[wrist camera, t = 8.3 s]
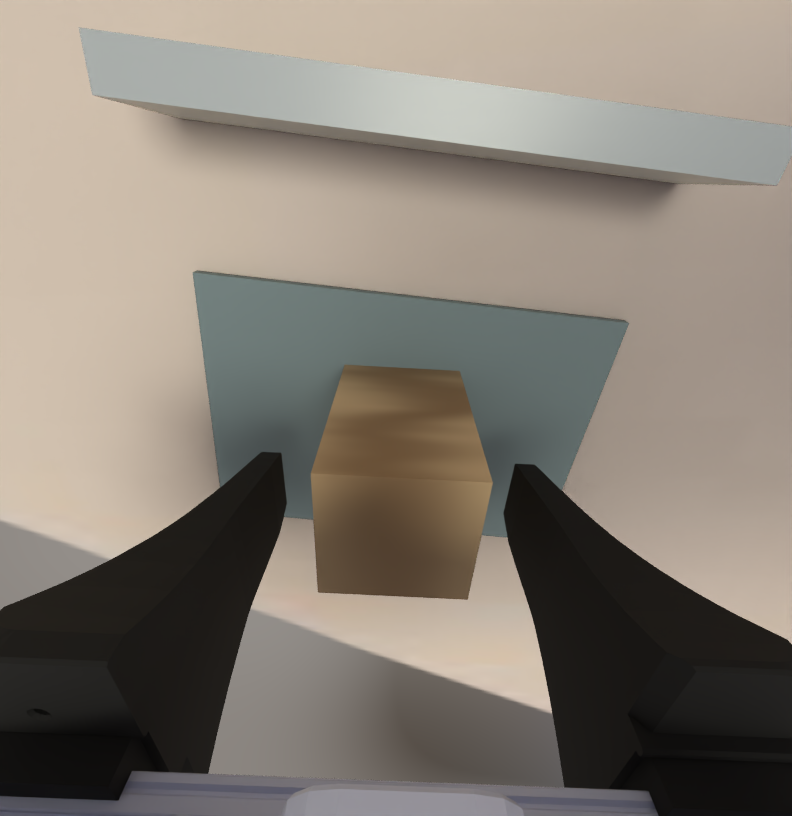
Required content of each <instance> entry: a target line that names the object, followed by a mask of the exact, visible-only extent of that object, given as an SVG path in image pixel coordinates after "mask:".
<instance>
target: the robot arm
mask: <svg viewBox="0 0 792 816" xmlns="http://www.w3.org/2000/svg"><path fill="white" fill-rule="evenodd" d="M286 505H287V499H286V490H285V481H284V472H283V463H282V454H281V453H278V452H261V453H260V454H258V455H257V456H256V457H255V458H254V459H253V460H251V461H250V462H249V463H248V464H247V465H246V466H245V467H243V468H242V469H241V470H240V471H239V472H238V473H237V474H235V475H234V476H233V477H232V478H231V479H230V480H229V481H227V482H226V483H225V484H224V485H223V486H221V487H220V488H219V489H218V490H217V491H216V492H214V493H213V494H212V495H211V496H209V497H208V498H207V499H205V500H204V501H203V502H201V503H200V504H199V505H198V506H196V507H195V508H194V509H192V510H191V511H190V512H188V513H187V514H186V515H184V516H183V517H181V518H180V519H178V520H177V521H176V522H174V523H173V524H171V525H169V526H168V527H166V528H165V529H163V530H162V531H160V532H159V533H157V534H155V535H154V536H152V537H151V538H149V539H147V540H145V541H144V542H142V543H140V544H138V545H136V546H135V547H133V548H131V549H129V550H128V551H126V552H124V553H122V554H121V555H119V556H117V557H115V558H113V559H111V560H109V561H107V562H105V563H103V564H101V565H99V566H97V567H95V568H94V569H92V570H89V571H87V572H85V573H83V574H81V575H79V576H76V577H74V578H72V579H70V580H68V581H66V582H63V583H61V584H59V585H57V586H54V587H52V588H49V589H47V590H44V591H42V592H40V593H37V594H35V595H32V596H30V597H27V598H25V599H23V600H20V601H18V602H15V603H13V604H10V605H8V606H5V607H3V608H2V609H1V610H0V816H792V644H791V643H790V642H789V641H788V640H787V639H785V638H783V637H781V636H779V635H777V634H775V633H772V632H770V631H768V630H766V629H764V628H762V627H760V626H758V625H756V624H754V623H752V622H750V621H748V620H746V619H744V618H742V617H740V616H738V615H736V614H734V613H732V612H730V611H728V610H726V609H725V608H723V607H721V606H719V605H717V604H715V603H714V602H712V601H710V600H708V599H706V598H705V597H703V596H701V595H699V594H698V593H696V592H694V591H692V590H691V589H689V588H687V587H686V586H684V585H682V584H681V583H679V582H678V581H676V580H674V579H673V578H671V577H670V576H668V575H667V574H665V573H663V572H662V571H660V570H659V569H657V568H656V567H654V566H653V565H651V564H650V563H648V562H647V561H645V560H644V559H642V558H641V557H640V556H638V555H637V554H636V553H634V552H633V551H632V550H630V549H629V548H627V547H626V546H625V545H623V544H622V543H621V542H619V541H618V540H617V539H616V538H614V537H613V536H612V535H611V534H609V533H608V532H607V531H606V530H605V529H603V528H602V527H601V526H600V525H599V524H597V523H596V522H595V521H594V520H593V519H592V518H591V517H589V516H588V515H587V514H586V513H585V512H584V511H583V510H582V509H580V508H579V507H578V506H577V505H576V504H575V503H574V502H573V501H572V500H571V499H570V498H569V497H568V496H567V495H566V494H565V493H564V492H563V491H562V490H561V489H559V488H558V487H557V486H556V485H555V484H554V483H553V482H552V481H551V480H550V479H549V478H548V477H547V476H546V475H545V474H544V473H543V472H542V471H541V470H540V469H539V468H538V467H537V466H536V465H534V464H515V466H514V470H513V474H512V478H511V483H510V487H509V491H508V495H507V500H506V504H505V508H504V512H503V514H504V520H505V526H506V532H507V537H508V542H509V546H510V549H511V552H512V555H513V558H514V562H515V565H516V568H517V571H518V574H519V577H520V580H521V583H522V586H523V589H524V592H525V595H526V598H527V602H528V605H529V608H530V611H531V614H532V618H533V621H534V625H535V629H536V634H537V638H538V643H539V647H540V652H541V656H542V661H543V666H544V671H545V676H546V681H547V686H548V691H549V697H550V702H551V708H552V713H553V718H554V725H555V730H556V736H557V741H558V748H559V755H560V761H561V768H562V775H563V780H564V788H560V787H535V786H508V785H483V784H481V785H480V784H457V783H456V784H455V783H432V782H405V781H404V782H403V781H380V780H355V779H327V778H303V777H277V776H250V775H225V774H223V775H222V774H208V772H209V767H210V763H211V758H212V753H213V749H214V745H215V740H216V736H217V732H218V727H219V723H220V719H221V715H222V711H223V707H224V703H225V699H226V695H227V691H228V687H229V683H230V679H231V675H232V672H233V668H234V664H235V660H236V656H237V653H238V649H239V645H240V642H241V638H242V635H243V631H244V628H245V624H246V621H247V617H248V614H249V611H250V608H251V605H252V603H253V600H254V597H255V595H256V592H257V589H258V587H259V584H260V582H261V579H262V577H263V574H264V572H265V569H266V567H267V564H268V562H269V559H270V557H271V554H272V551H273V549H274V546H275V544H276V541H277V539H278V536H279V533H280V530H281V526H282V522H283V518H284V514H285V510H286Z"/></svg>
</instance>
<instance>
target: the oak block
mask: <svg viewBox="0 0 792 816" xmlns="http://www.w3.org/2000/svg"><path fill="white" fill-rule="evenodd" d="M492 484H493V482H492V478H491V475H490V472H489V468H488V465H487V461H486V458H485V455H484V451H483V448H482V444H481V441H480V438H479V434H478V431H477V428H476V424H475V421H474V417H473V414H472V411H471V407H470V404H469V401H468V397H467V394H466V390H465V387H464V384H463V380H462V377H461V373H460V371H452V370H434V369H416V368H397V367H379V366H361V365H344V369H343V372H342V375H341V378H340V381H339V385H338V388H337V391H336V394H335V397H334V401H333V404H332V407H331V410H330V413H329V416H328V420H327V423H326V426H325V429H324V432H323V436H322V439H321V442H320V445H319V448H318V452H317V455H316V458H315V461H314V464H313V468H312V471H311V487H312V503H313V519H314V535H315V552H316V568H317V584H318V592H320V593H341V594H362V595H383V596H404V597H425V598H446V599H468V595H469V591H470V586H471V581H472V577H473V572H474V568H475V563H476V558H477V554H478V549H479V544H480V540H481V535H482V531H483V526H484V521H485V517H486V512H487V507H488V503H489V498H490V494H491V489H492Z"/></svg>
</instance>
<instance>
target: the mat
mask: <svg viewBox="0 0 792 816" xmlns="http://www.w3.org/2000/svg"><path fill="white" fill-rule="evenodd" d="M193 279H194V286H195V294H196V302H197V310H198V318H199V326H200V333H201V341H202V349H203V357H204V365H205V372H206V380H207V388H208V396H209V404H210V411H211V419H212V427H213V435H214V443H215V451H216V458H217V466H218V474H219V482H220V487H221V486H223V485H224V484H225V483H226V482H227V481H229V480H230V479H231V478H232V477H233V476H234V475H235V474H237V473H238V472H239V471H240V470H241V469H242V468H243V467H245V466H246V465H247V464H248V463H249V462H250V461H251V460H253V459H254V458H255V457H256V456H257V455H258V454H260V453H261V452H278V453H281V454H282V463H283V472H284V481H285V490H286V499H287V505H286V510H285V514H284V517H291V518H302V519H312V520H314V519H313V503H312V487H311V471H312V468H313V464H314V461H315V458H316V455H317V452H318V448H319V445H320V442H321V439H322V436H323V432H324V429H325V426H326V423H327V420H328V416H329V413H330V410H331V407H332V404H333V401H334V397H335V394H336V391H337V388H338V385H339V381H340V378H341V375H342V372H343V369H344V365H361V366H379V367H397V368H416V369H434V370H452V371H460V373H461V377H462V380H463V384H464V387H465V390H466V394H467V397H468V401H469V404H470V407H471V411H472V414H473V417H474V421H475V424H476V428H477V431H478V434H479V438H480V441H481V444H482V448H483V451H484V455H485V458H486V461H487V465H488V468H489V472H490V475H491V478H492V482H493V484H492V489H491V494H490V498H489V503H488V507H487V512H486V517H485V521H484V526H483V531H482V535H486V536H496V537H507V532H506V526H505V520H504V514H503V512H504V508H505V504H506V500H507V495H508V491H509V487H510V483H511V478H512V474H513V470H514V466H515V464H534V465H536V466H537V467H538V468H539V469H540V470H541V471H542V472H543V473H544V474H545V475H546V476H547V477H548V478H549V479H550V480H551V481H552V482H553V483H554V484H555V485H556V486H557V487H558V488H559V489H561V490H562V489H563V486H564V484H565V481H566V479H567V476H568V474H569V471H570V469H571V466H572V464H573V461H574V459H575V456H576V454H577V451H578V449H579V446H580V444H581V441H582V439H583V437H584V434H585V432H586V429H587V427H588V424H589V422H590V419H591V417H592V414H593V412H594V409H595V407H596V404H597V402H598V399H599V397H600V394H601V392H602V389H603V387H604V384H605V382H606V379H607V377H608V374H609V372H610V369H611V367H612V364H613V362H614V359H615V357H616V354H617V352H618V349H619V347H620V344H621V342H622V339H623V337H624V335H625V332H626V330H627V327H628V325H629V323H628V322H626V321H625V320H617V319H608V318H600V317H591V316H583V315H574V314H565V313H557V312H548V311H540V310H531V309H522V308H514V307H505V306H496V305H488V304H479V303H471V302H462V301H453V300H445V299H436V298H428V297H419V296H410V295H402V294H393V293H385V292H376V291H367V290H359V289H350V288H342V287H333V286H324V285H316V284H307V283H299V282H290V281H281V280H273V279H264V278H255V277H247V276H238V275H230V274H221V273H212V272H204V271H195V272H193ZM507 538H508V537H507Z"/></svg>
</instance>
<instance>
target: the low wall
mask: <svg viewBox="0 0 792 816" xmlns="http://www.w3.org/2000/svg"><path fill="white" fill-rule="evenodd" d="M79 32H80V37H81V41H82V46H83V51H84V56H85V61H86V66H87V71H88V76H89V81H90V86H91V91H92V95H94V96H98V97H102V98H105V99H109V100H113V101H117V102H120V103H124V104H128V105H131V106H135V107H139V108H143V109H146V110H150V111H154V112H157V113H161V114H165V115H169V116H172V117H176V118H181V119H189V120H196V121H204V122H212V123H219V124H227V125H234V126H242V127H250V128H257V129H265V130H273V131H280V132H288V133H295V134H303V135H311V136H318V137H326V138H334V139H341V140H349V141H356V142H364V143H372V144H379V145H387V146H395V147H402V148H410V149H417V150H425V151H433V152H440V153H448V154H455V155H463V156H471V157H478V158H486V159H494V160H501V161H509V162H516V163H524V164H532V165H539V166H547V167H555V168H562V169H570V170H577V171H585V172H593V173H600V174H608V175H616V176H623V177H631V178H638V179H646V180H654V181H661V182H669V183H676V184H718V185H772V186H777V185H778V183H779V181H780V179H781V177H782V175H783V173H784V171H785V169H786V166H787V164H788V162H789V160H790V158H791V156H792V126H785V125H778V124H771V123H764V122H756V121H749V120H742V119H735V118H728V117H720V116H713V115H706V114H699V113H692V112H684V111H677V110H670V109H663V108H656V107H648V106H641V105H634V104H627V103H620V102H612V101H605V100H598V99H591V98H584V97H576V96H569V95H562V94H555V93H548V92H540V91H533V90H526V89H519V88H512V87H504V86H497V85H490V84H483V83H476V82H468V81H461V80H454V79H447V78H440V77H432V76H425V75H418V74H411V73H404V72H396V71H389V70H382V69H375V68H368V67H360V66H353V65H346V64H339V63H332V62H324V61H317V60H310V59H303V58H296V57H288V56H281V55H274V54H267V53H260V52H252V51H245V50H238V49H231V48H224V47H216V46H209V45H202V44H195V43H188V42H180V41H173V40H166V39H159V38H152V37H144V36H137V35H130V34H123V33H116V32H108V31H101V30H94V29H87V28H80V27H79Z"/></svg>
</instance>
